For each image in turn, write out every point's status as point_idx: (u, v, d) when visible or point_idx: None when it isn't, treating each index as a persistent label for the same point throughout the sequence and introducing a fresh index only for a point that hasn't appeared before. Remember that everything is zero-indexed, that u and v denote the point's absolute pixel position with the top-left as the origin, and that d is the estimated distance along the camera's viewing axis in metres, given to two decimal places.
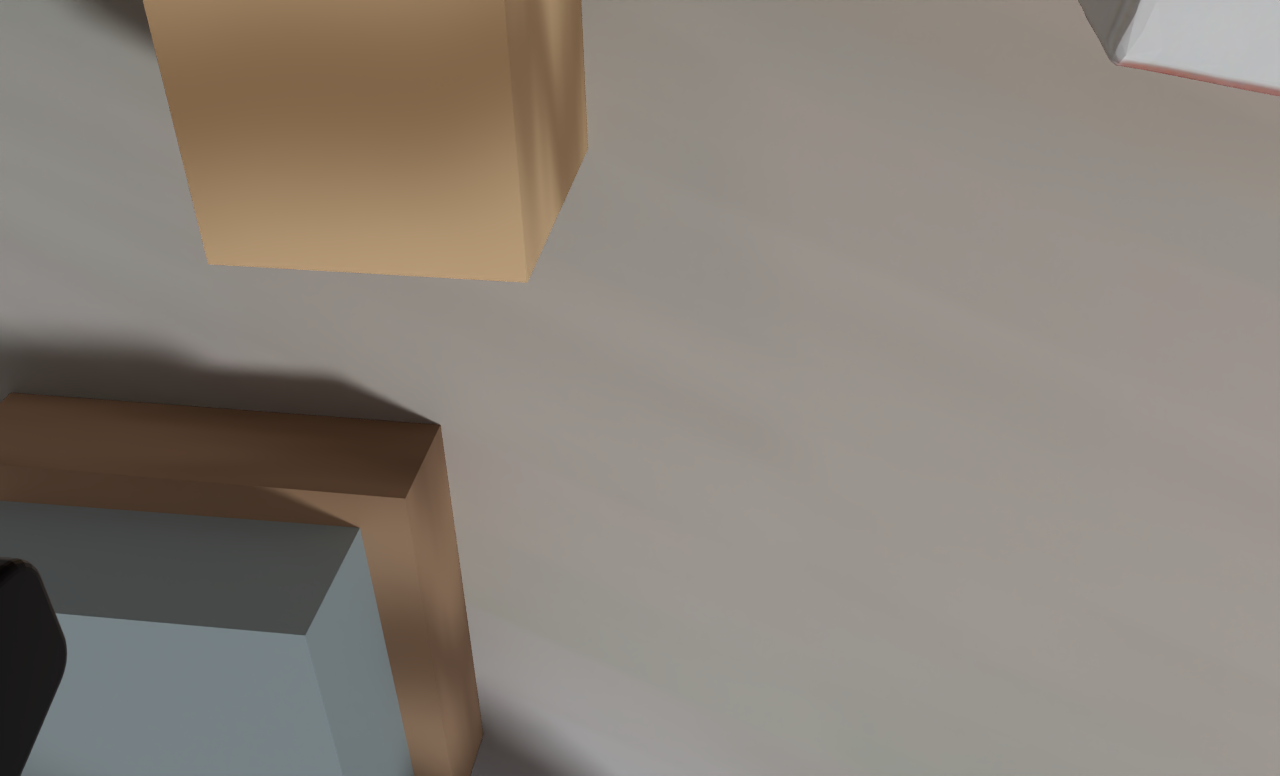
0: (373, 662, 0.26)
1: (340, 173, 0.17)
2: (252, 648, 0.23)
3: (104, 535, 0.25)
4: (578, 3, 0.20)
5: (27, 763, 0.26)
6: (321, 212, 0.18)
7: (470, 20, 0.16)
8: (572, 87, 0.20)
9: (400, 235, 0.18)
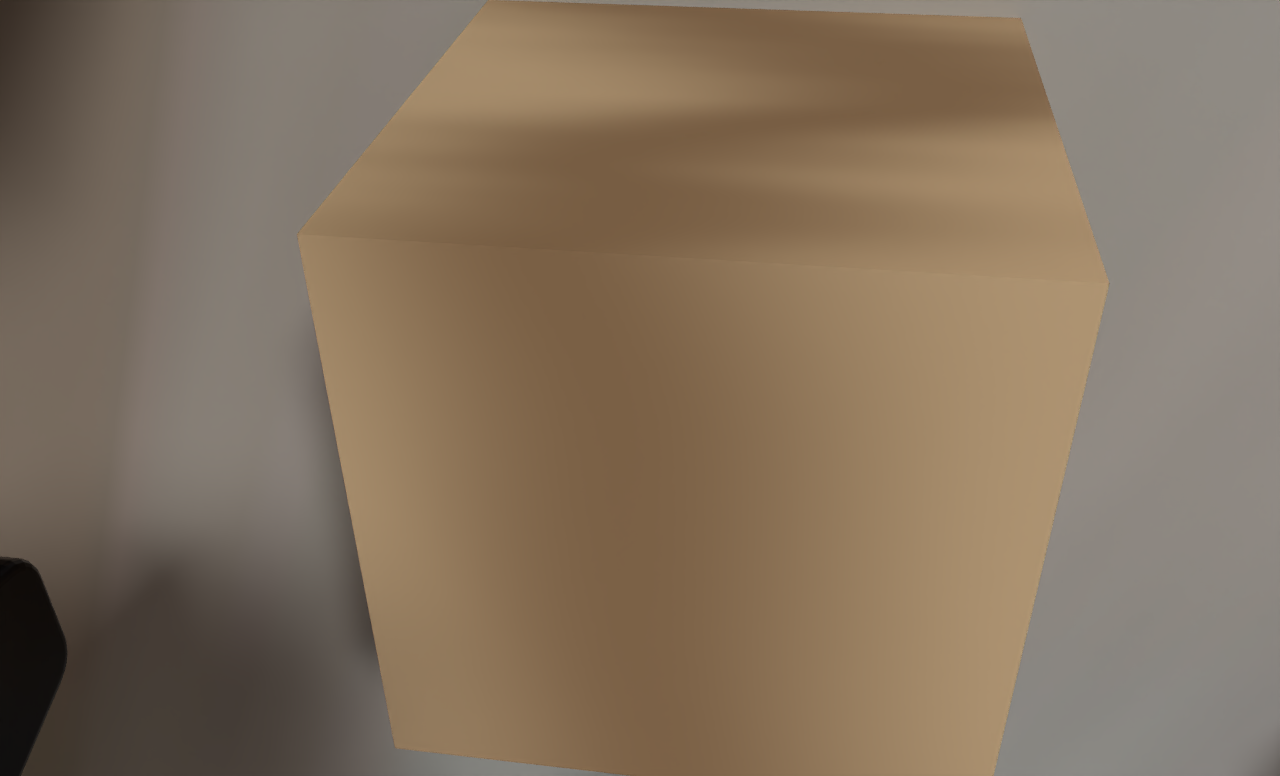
0: None
1: (802, 583, 0.09)
2: None
3: None
4: (724, 17, 0.11)
5: None
6: (885, 632, 0.09)
7: (473, 309, 0.08)
8: (849, 50, 0.11)
9: (950, 515, 0.08)
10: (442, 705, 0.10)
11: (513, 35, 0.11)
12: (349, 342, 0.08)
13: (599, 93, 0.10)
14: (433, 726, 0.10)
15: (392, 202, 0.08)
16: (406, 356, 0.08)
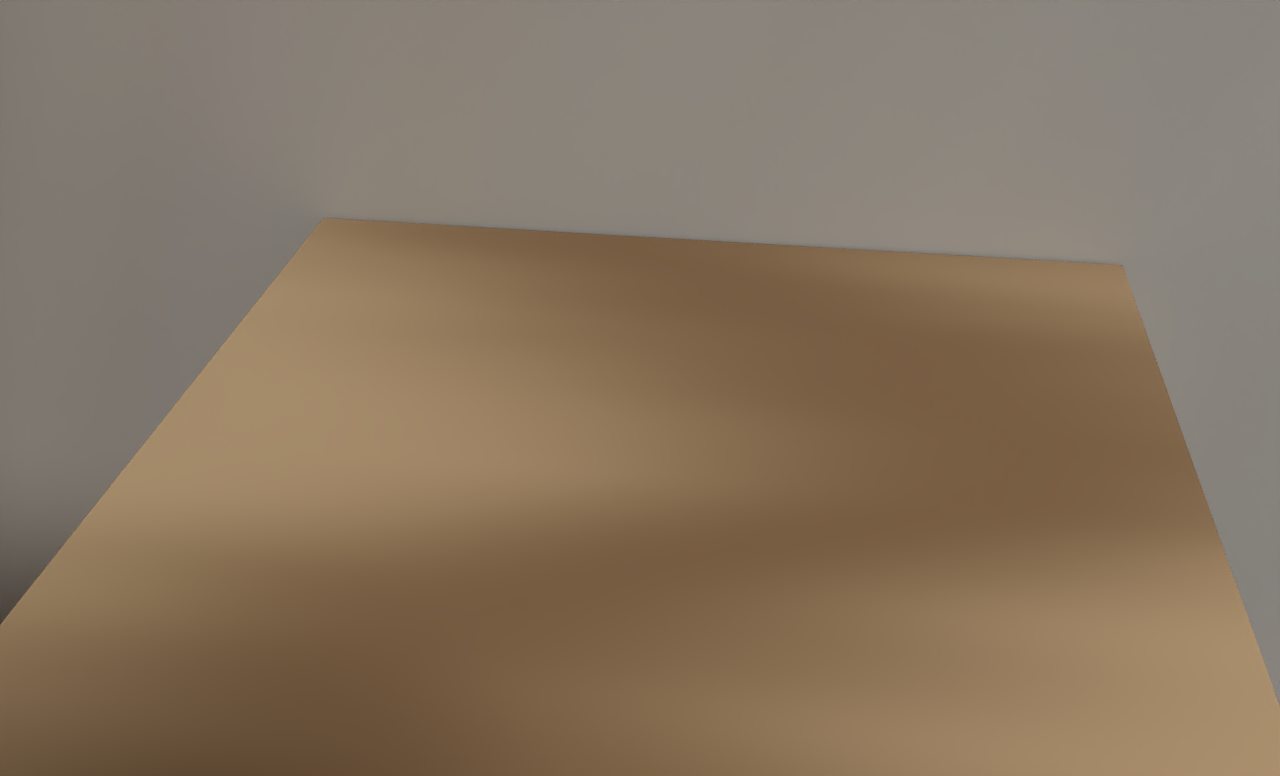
0: None
1: None
2: None
3: None
4: (666, 265, 0.07)
5: None
6: None
7: None
8: (861, 349, 0.07)
9: None
10: None
11: (337, 306, 0.07)
12: None
13: (447, 461, 0.06)
14: None
15: None
16: None
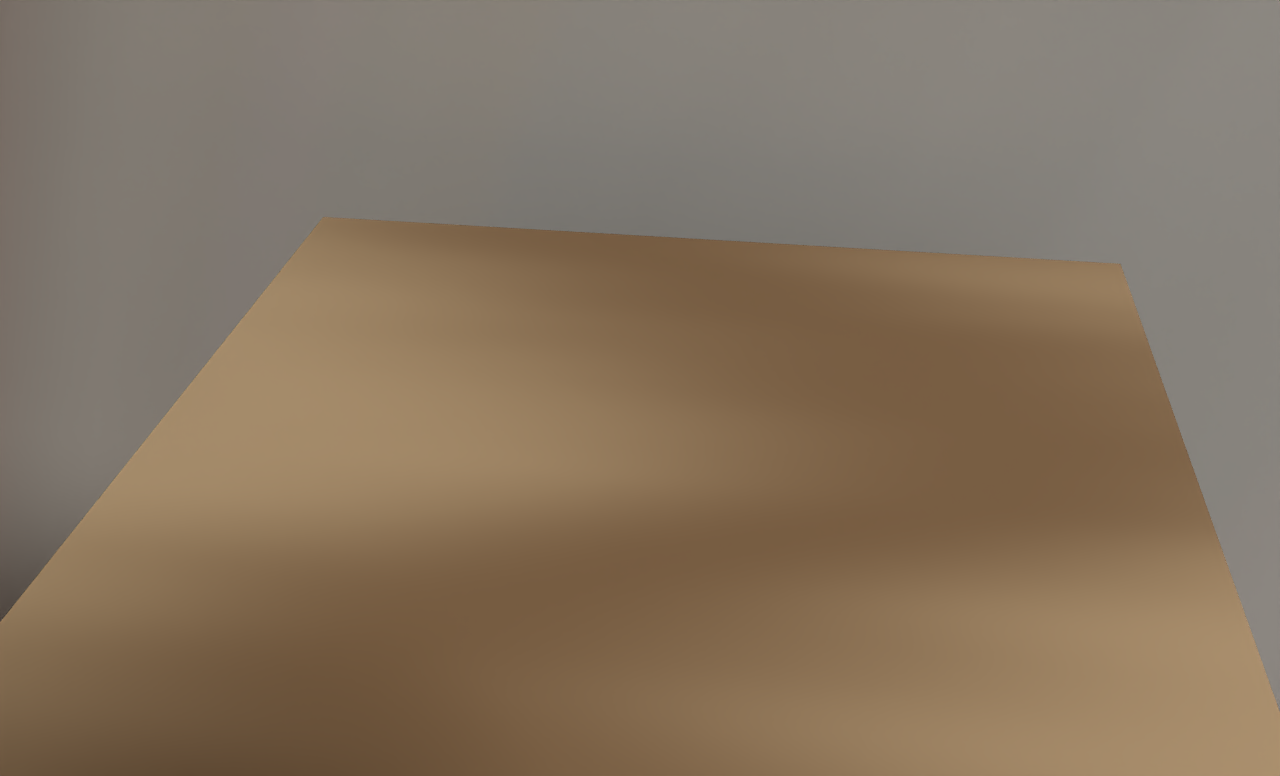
0: None
1: None
2: None
3: None
4: (666, 265, 0.07)
5: None
6: None
7: None
8: (860, 347, 0.07)
9: None
10: None
11: (335, 306, 0.07)
12: None
13: (443, 459, 0.06)
14: None
15: None
16: None
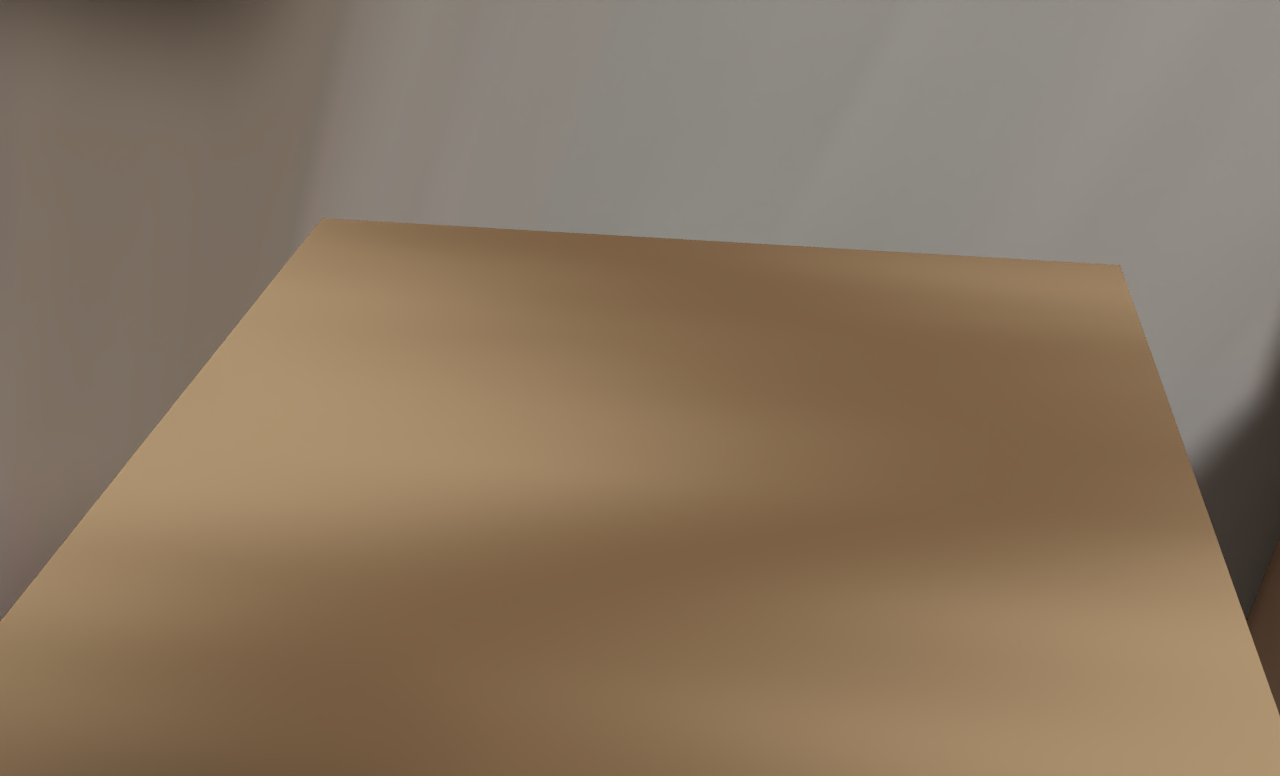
0: None
1: None
2: None
3: None
4: (664, 266, 0.07)
5: None
6: None
7: None
8: (859, 349, 0.07)
9: None
10: None
11: (335, 306, 0.07)
12: None
13: (443, 461, 0.06)
14: None
15: None
16: None
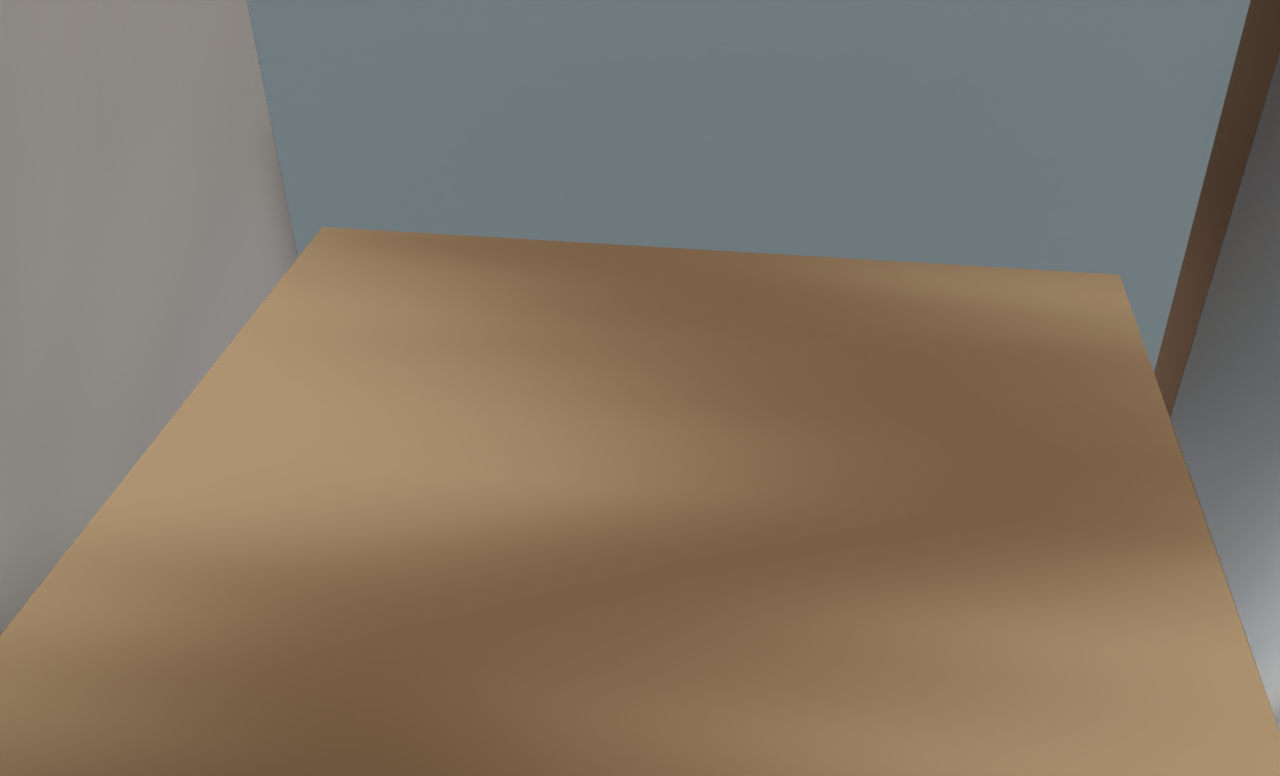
0: None
1: None
2: (301, 8, 0.10)
3: None
4: (664, 275, 0.07)
5: None
6: None
7: None
8: (859, 359, 0.07)
9: None
10: None
11: (335, 316, 0.07)
12: None
13: (443, 471, 0.06)
14: None
15: None
16: None
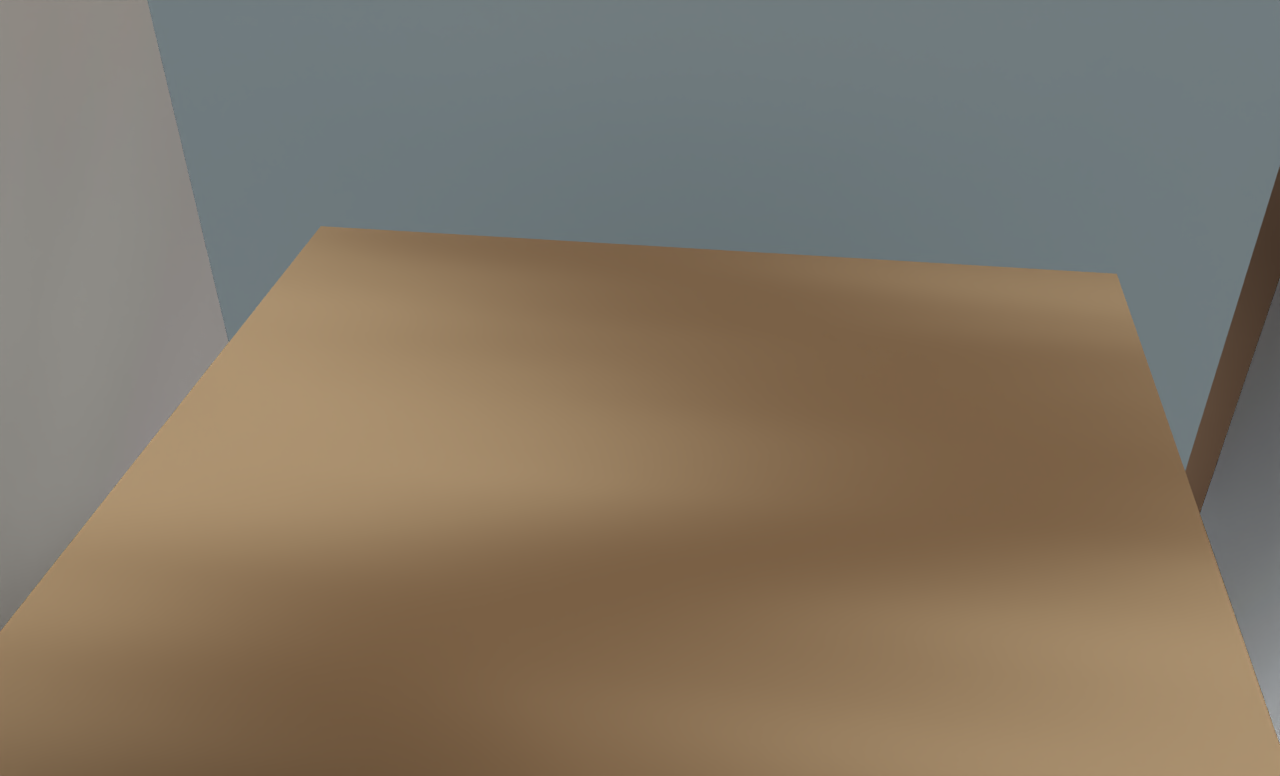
0: None
1: None
2: (223, 70, 0.09)
3: None
4: (663, 275, 0.07)
5: None
6: None
7: None
8: (856, 358, 0.07)
9: None
10: None
11: (333, 316, 0.07)
12: None
13: (441, 469, 0.06)
14: None
15: None
16: None
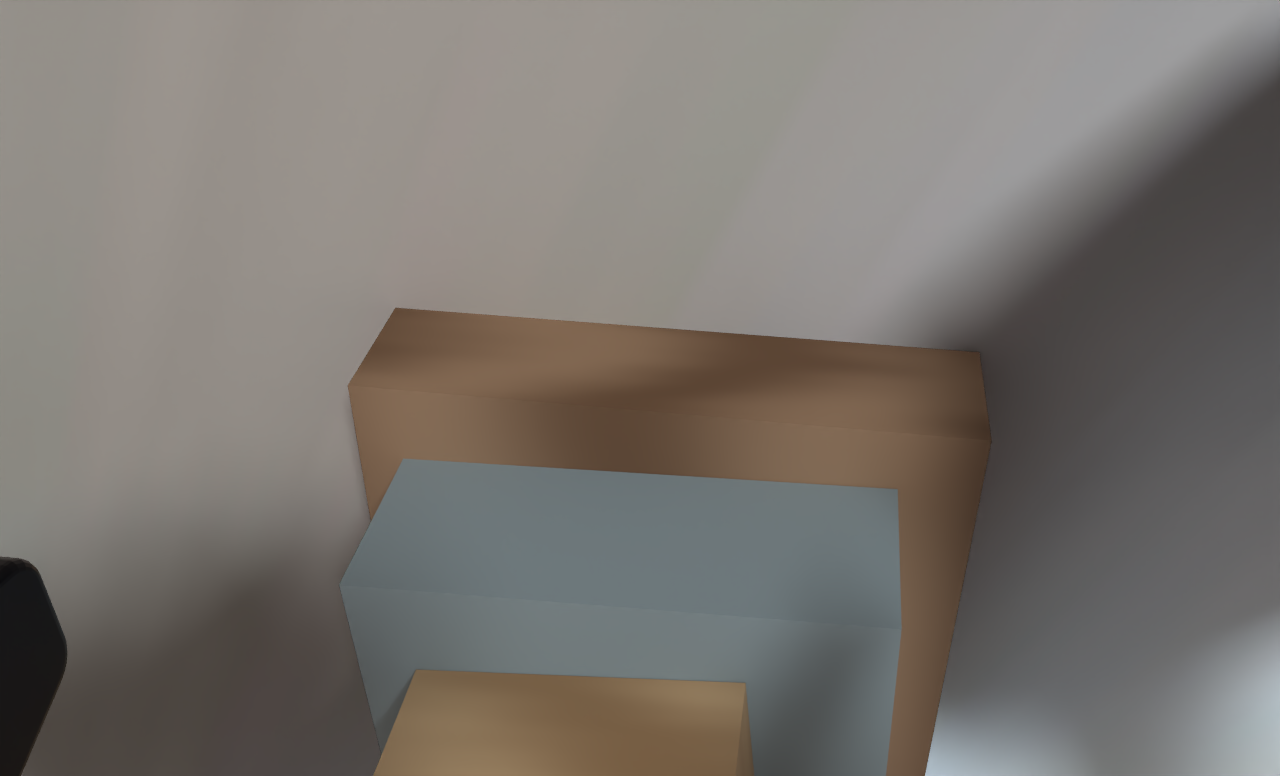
0: (581, 499, 0.19)
1: None
2: (383, 643, 0.18)
3: None
4: (558, 694, 0.18)
5: None
6: None
7: None
8: (627, 740, 0.17)
9: None
10: None
11: (425, 726, 0.18)
12: None
13: None
14: None
15: None
16: None
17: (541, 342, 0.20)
